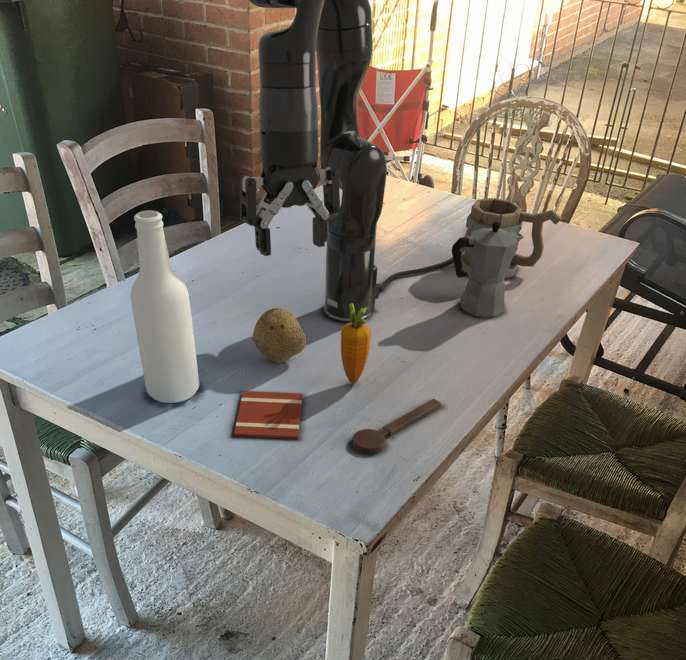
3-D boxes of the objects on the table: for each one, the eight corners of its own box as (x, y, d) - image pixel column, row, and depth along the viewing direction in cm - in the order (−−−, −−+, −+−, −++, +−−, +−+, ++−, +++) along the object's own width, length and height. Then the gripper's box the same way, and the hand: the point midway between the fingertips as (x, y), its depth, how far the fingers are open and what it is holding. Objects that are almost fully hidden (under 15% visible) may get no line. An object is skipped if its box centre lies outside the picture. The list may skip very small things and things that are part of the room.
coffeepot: (498, 293, 161) (514, 210, 150) (521, 313, 154) (539, 228, 143) (433, 302, 157) (444, 217, 146) (453, 323, 150) (466, 236, 139)
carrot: (337, 376, 133) (341, 298, 124) (365, 376, 134) (371, 298, 124) (339, 392, 129) (343, 313, 120) (368, 391, 130) (374, 313, 120)
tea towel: (302, 395, 128) (302, 393, 128) (297, 438, 119) (297, 436, 118) (243, 393, 128) (242, 390, 128) (233, 436, 119) (233, 433, 118)
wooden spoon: (425, 398, 129) (426, 393, 128) (448, 411, 126) (449, 406, 126) (346, 443, 118) (346, 437, 118) (368, 458, 116) (369, 452, 115)
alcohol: (140, 403, 124) (108, 225, 106) (153, 375, 131) (125, 202, 113) (194, 405, 124) (171, 227, 105) (204, 377, 131) (184, 204, 112)
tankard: (452, 272, 168) (461, 206, 159) (466, 251, 177) (476, 187, 168) (541, 291, 163) (557, 223, 153) (552, 268, 172) (567, 203, 163)
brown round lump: (243, 355, 137) (241, 305, 131) (284, 342, 142) (284, 293, 135) (270, 378, 132) (269, 327, 126) (312, 364, 136) (313, 314, 130)
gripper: (321, 117, 104) (322, 237, 112) (226, 124, 97) (234, 250, 106) (351, 124, 98) (349, 249, 107) (252, 132, 92) (258, 264, 100)
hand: (292, 250), depth 106 cm, fingers open, 8 cm apart
